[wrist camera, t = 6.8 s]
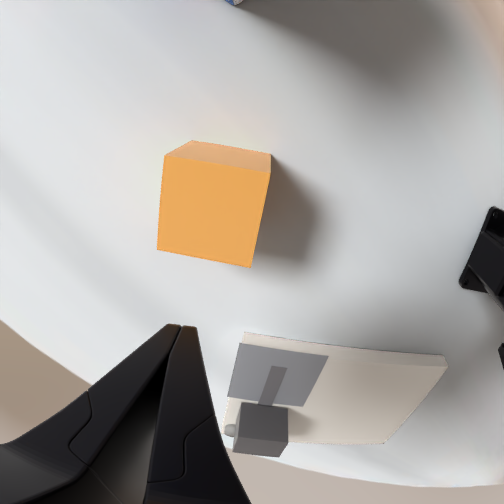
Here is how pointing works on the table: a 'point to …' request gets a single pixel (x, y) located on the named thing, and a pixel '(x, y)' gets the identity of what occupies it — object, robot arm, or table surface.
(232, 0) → the ink cartridge box
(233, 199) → the cap
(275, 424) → the block
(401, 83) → the table surface
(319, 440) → the board
